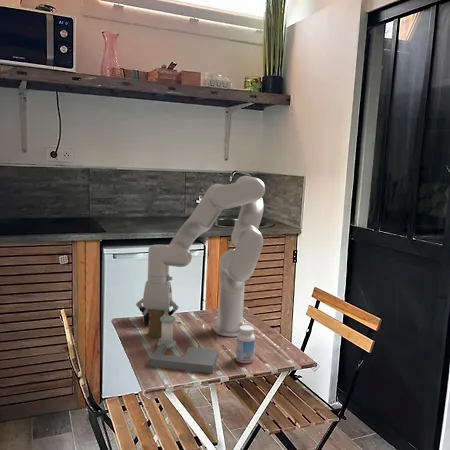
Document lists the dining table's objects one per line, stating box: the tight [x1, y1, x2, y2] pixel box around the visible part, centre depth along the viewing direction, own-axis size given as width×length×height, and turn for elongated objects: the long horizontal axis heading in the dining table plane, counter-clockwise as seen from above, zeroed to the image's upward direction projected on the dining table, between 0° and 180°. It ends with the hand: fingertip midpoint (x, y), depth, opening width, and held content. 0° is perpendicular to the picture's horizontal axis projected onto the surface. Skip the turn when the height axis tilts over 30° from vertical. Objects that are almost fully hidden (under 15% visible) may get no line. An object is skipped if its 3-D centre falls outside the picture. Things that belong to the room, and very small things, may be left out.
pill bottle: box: [235, 325, 256, 364], centre depth 152 cm, size 6×6×11 cm
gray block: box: [149, 344, 219, 374], centre depth 149 cm, size 20×12×2 cm, turn 83°
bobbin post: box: [157, 315, 177, 350], centre depth 160 cm, size 6×6×10 cm
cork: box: [147, 309, 164, 339], centre depth 169 cm, size 6×6×11 cm
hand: (156, 325), depth 169 cm, fingers open, 6 cm apart
